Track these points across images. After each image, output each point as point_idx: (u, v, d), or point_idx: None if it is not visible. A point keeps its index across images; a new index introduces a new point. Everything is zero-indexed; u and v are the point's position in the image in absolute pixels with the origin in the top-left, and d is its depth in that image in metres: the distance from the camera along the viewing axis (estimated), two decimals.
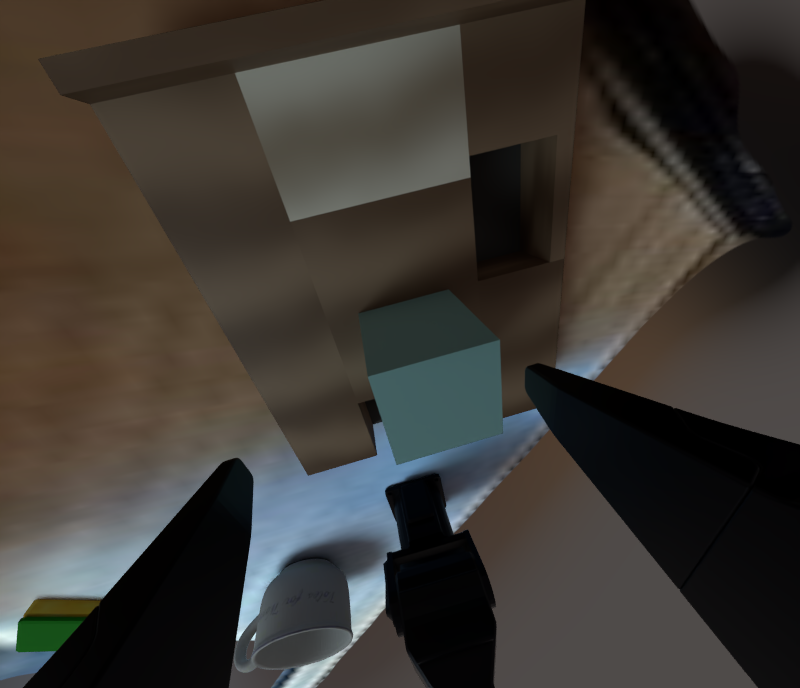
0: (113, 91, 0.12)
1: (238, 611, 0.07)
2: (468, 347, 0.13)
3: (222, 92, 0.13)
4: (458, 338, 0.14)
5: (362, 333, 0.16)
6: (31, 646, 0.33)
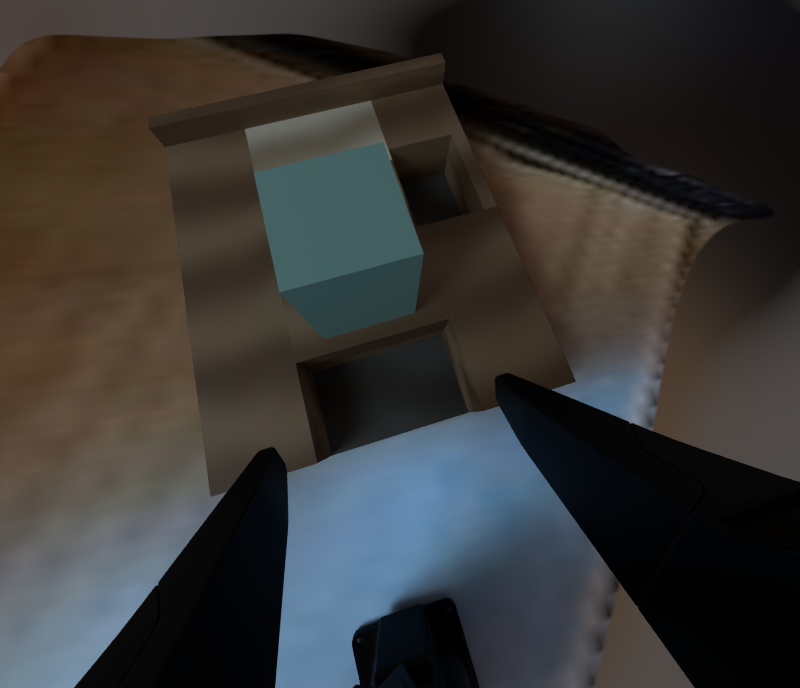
0: (177, 132, 0.21)
1: (281, 595, 0.07)
2: (354, 150, 0.14)
3: (235, 136, 0.22)
4: None
5: None
6: None
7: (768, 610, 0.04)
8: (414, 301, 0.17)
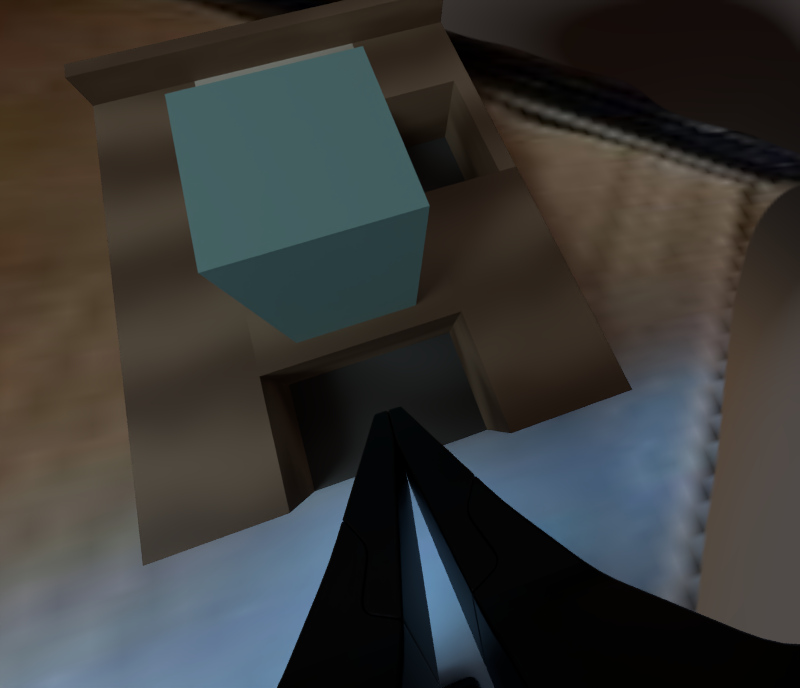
0: (105, 85, 0.17)
1: (418, 547, 0.07)
2: (318, 60, 0.09)
3: None
4: None
5: None
6: None
7: None
8: (415, 288, 0.12)
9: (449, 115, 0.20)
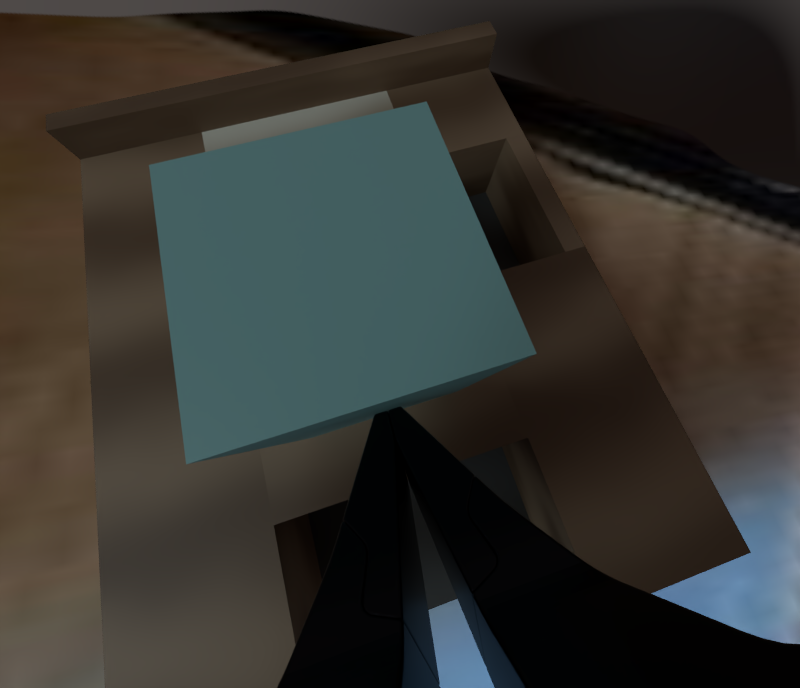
0: (95, 138, 0.14)
1: (418, 547, 0.07)
2: (366, 120, 0.07)
3: (187, 143, 0.15)
4: None
5: None
6: None
7: None
8: (464, 387, 0.10)
9: (494, 172, 0.17)
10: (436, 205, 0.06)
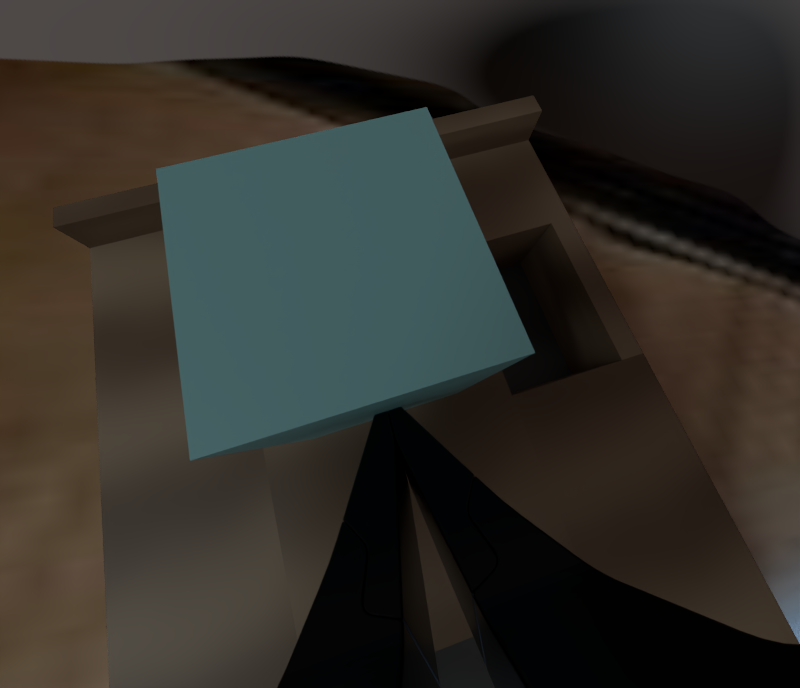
0: (106, 229, 0.13)
1: None
2: (367, 125, 0.07)
3: None
4: None
5: None
6: None
7: None
8: (465, 388, 0.10)
9: (533, 249, 0.16)
10: (436, 207, 0.06)
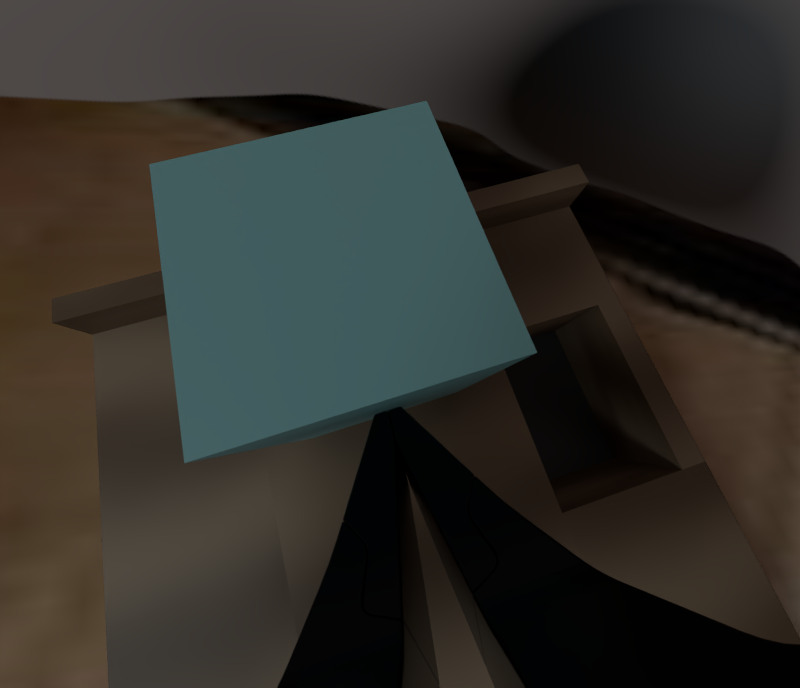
0: (111, 318, 0.12)
1: None
2: (365, 119, 0.07)
3: None
4: None
5: None
6: None
7: None
8: (465, 387, 0.10)
9: (572, 323, 0.15)
10: (436, 204, 0.06)
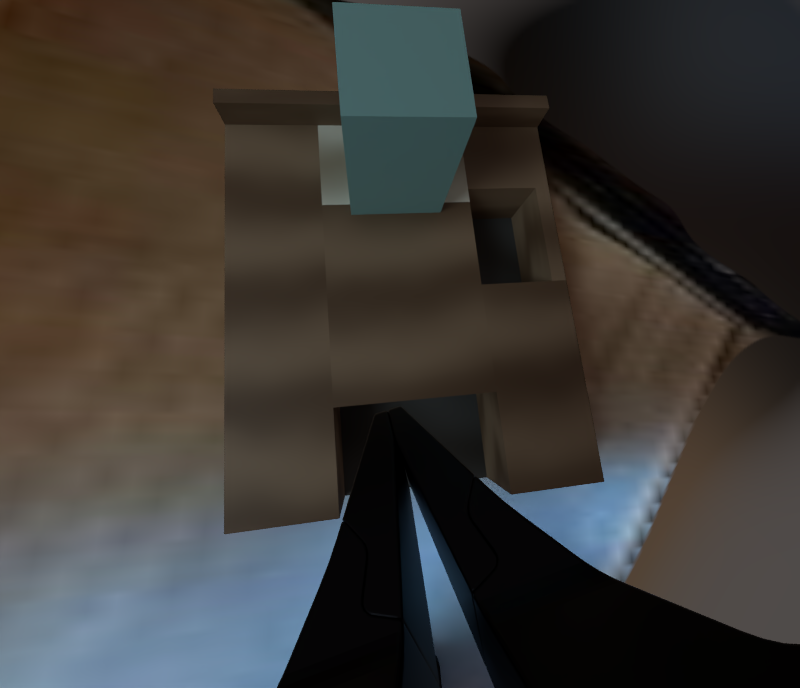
0: (243, 113, 0.19)
1: (418, 547, 0.07)
2: (430, 10, 0.14)
3: (306, 131, 0.20)
4: None
5: None
6: None
7: None
8: (445, 192, 0.18)
9: (521, 207, 0.23)
10: (453, 54, 0.14)
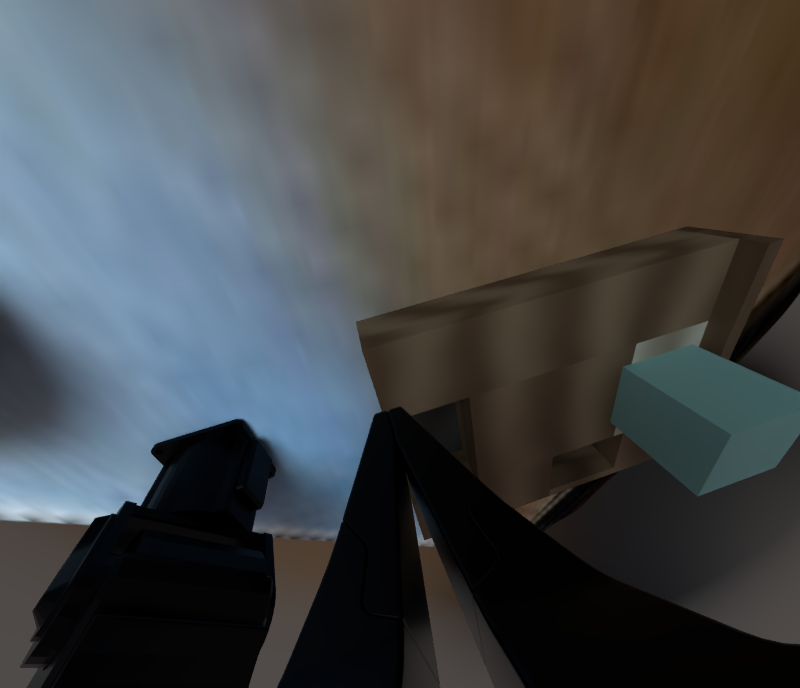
0: (745, 264, 0.19)
1: None
2: (782, 452, 0.19)
3: (705, 313, 0.21)
4: None
5: (736, 364, 0.20)
6: None
7: None
8: (631, 438, 0.24)
9: (596, 451, 0.31)
10: (745, 473, 0.19)
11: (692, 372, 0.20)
